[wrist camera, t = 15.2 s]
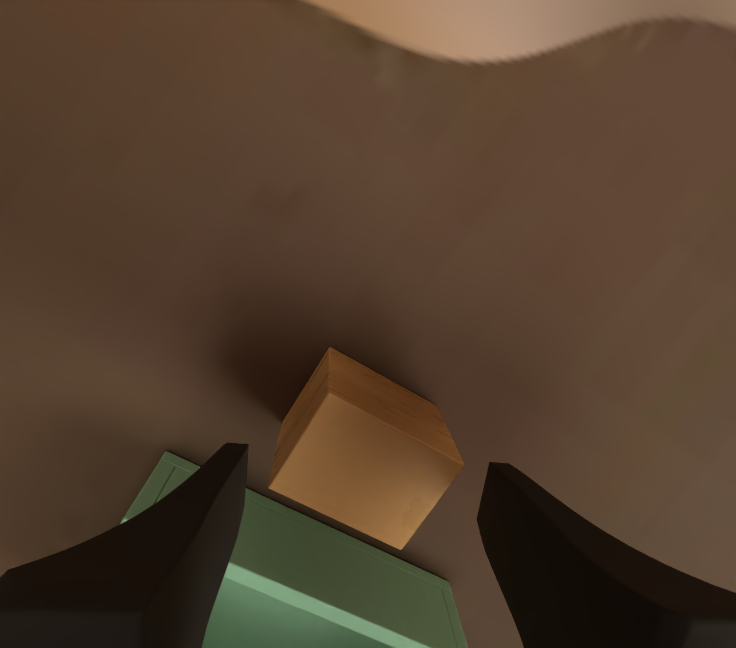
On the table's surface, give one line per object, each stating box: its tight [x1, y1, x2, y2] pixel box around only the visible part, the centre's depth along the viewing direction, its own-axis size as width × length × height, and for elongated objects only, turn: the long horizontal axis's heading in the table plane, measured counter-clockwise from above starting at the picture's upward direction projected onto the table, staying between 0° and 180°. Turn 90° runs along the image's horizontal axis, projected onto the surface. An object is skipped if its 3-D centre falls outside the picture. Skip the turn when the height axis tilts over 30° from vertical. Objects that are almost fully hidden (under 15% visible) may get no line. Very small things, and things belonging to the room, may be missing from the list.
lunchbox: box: [120, 451, 468, 648], centre depth 18 cm, size 8×13×4 cm, turn 58°
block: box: [268, 347, 464, 550], centre depth 16 cm, size 5×4×4 cm
